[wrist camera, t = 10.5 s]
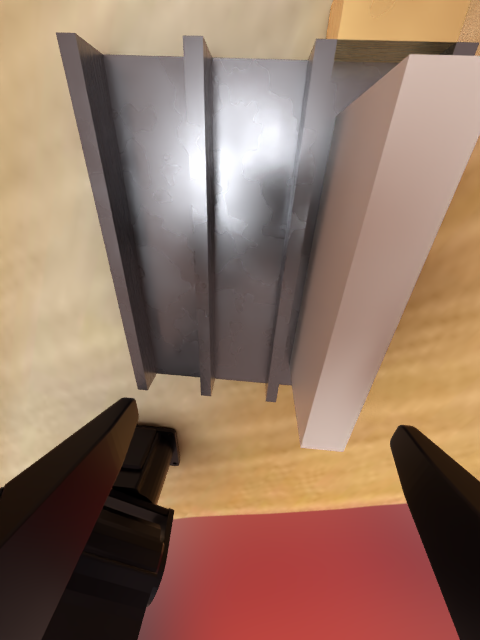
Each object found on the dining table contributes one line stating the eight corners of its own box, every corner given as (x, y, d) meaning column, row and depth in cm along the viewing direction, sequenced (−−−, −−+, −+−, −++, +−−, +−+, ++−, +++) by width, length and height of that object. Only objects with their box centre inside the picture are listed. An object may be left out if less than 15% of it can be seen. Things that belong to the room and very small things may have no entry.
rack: (332, 381, 22) (342, 408, 19) (152, 365, 23) (138, 389, 20) (451, 9, 11) (511, -44, 8) (88, 3, 11) (37, -48, 9)
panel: (318, 368, 20) (343, 451, 14) (289, 366, 20) (300, 447, 14) (385, 118, 12) (513, 56, 6) (335, 116, 12) (409, 54, 6)
